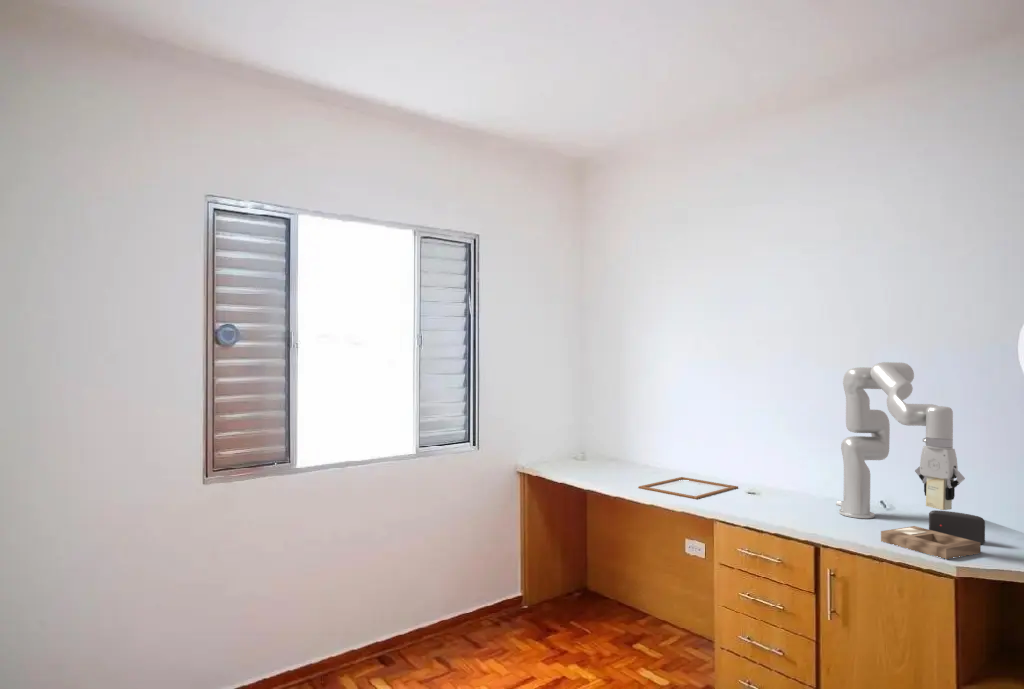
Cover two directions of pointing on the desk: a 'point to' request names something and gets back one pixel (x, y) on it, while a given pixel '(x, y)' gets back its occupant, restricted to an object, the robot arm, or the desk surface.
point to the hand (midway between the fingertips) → (939, 497)
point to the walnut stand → (931, 542)
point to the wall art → (673, 481)
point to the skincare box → (937, 494)
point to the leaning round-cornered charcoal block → (958, 525)
